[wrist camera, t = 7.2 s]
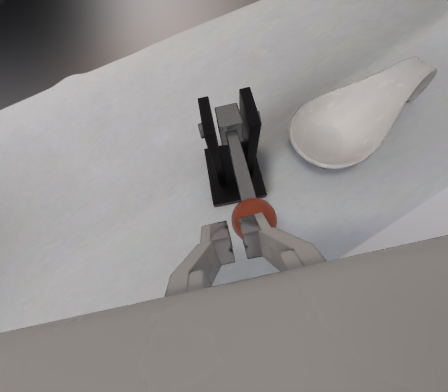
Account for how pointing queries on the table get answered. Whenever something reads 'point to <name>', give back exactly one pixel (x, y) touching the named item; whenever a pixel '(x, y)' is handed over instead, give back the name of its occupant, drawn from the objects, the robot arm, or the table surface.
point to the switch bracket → (220, 156)
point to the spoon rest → (356, 115)
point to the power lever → (240, 167)
